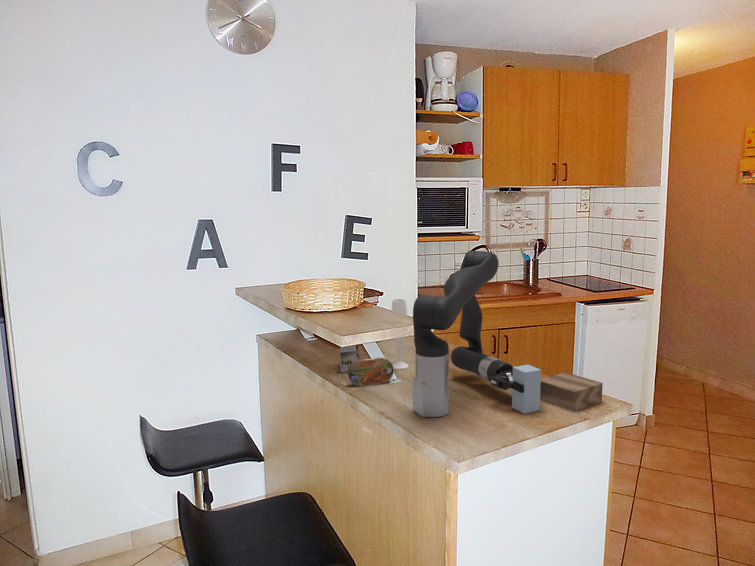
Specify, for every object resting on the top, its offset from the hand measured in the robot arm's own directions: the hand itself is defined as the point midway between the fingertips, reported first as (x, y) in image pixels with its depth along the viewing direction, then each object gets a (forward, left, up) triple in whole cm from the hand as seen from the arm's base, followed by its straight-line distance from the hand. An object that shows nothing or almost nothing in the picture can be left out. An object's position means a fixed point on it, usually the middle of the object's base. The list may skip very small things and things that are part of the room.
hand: (532, 387), depth 160 cm
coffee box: (-31, +61, -7) cm, 68 cm away
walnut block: (+16, +3, -7) cm, 18 cm away
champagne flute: (-14, +56, -7) cm, 58 cm away
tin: (-31, +43, -7) cm, 53 cm away
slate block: (0, +3, -7) cm, 7 cm away
